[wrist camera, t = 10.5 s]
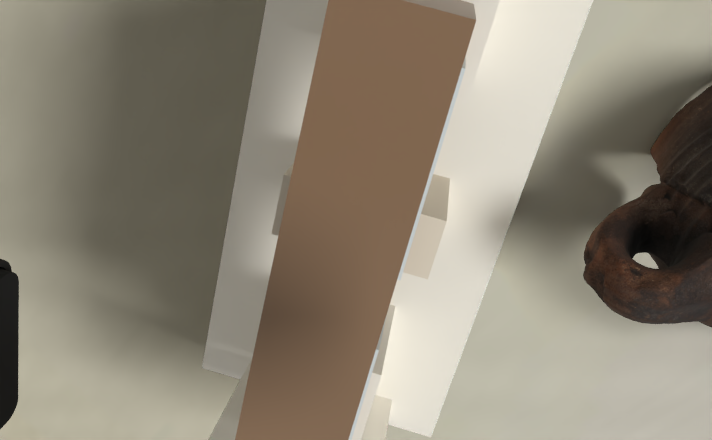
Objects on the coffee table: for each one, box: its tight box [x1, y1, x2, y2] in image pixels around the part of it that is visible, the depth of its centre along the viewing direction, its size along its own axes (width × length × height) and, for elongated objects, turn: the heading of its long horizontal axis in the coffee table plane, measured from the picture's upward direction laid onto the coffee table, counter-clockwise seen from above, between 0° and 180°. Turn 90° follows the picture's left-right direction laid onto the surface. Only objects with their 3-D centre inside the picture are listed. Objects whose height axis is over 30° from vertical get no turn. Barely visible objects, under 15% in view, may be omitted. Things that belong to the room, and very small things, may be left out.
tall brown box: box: [235, 0, 476, 440], centre depth 17 cm, size 14×3×4 cm, turn 166°
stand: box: [202, 0, 593, 440], centre depth 21 cm, size 20×10×8 cm, turn 166°
